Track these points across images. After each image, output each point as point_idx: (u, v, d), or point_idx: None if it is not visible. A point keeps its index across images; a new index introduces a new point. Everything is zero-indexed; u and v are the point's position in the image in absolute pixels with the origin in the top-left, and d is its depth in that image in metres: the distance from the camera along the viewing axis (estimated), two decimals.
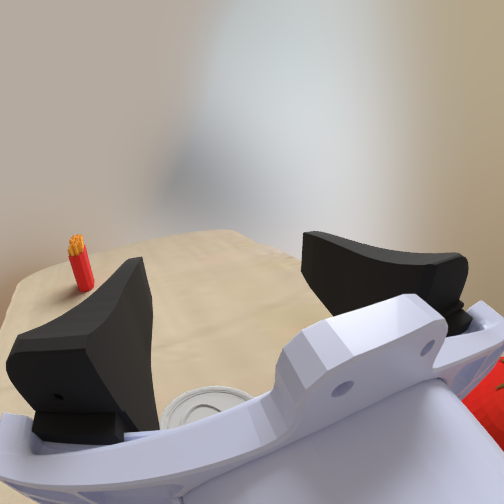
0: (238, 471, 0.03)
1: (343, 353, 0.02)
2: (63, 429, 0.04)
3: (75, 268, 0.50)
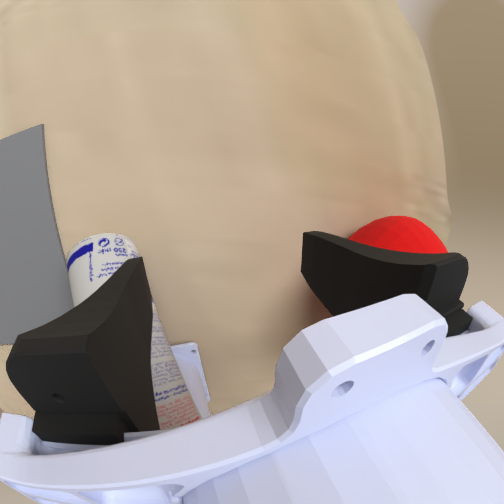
0: (238, 471, 0.03)
1: (343, 353, 0.02)
2: (63, 429, 0.04)
3: None
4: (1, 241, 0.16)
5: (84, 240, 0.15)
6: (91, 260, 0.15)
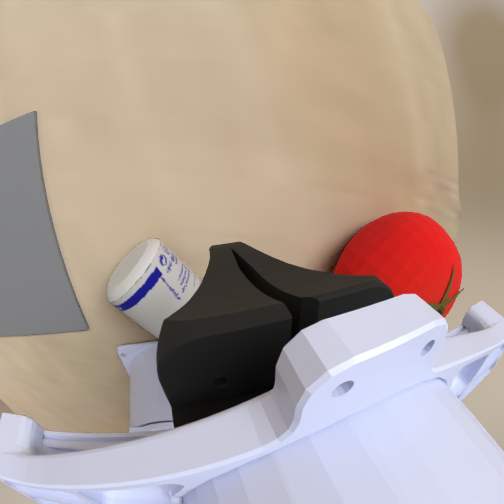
0: (238, 471, 0.03)
1: (343, 353, 0.02)
2: None
3: None
4: None
5: (147, 269, 0.16)
6: (168, 283, 0.17)
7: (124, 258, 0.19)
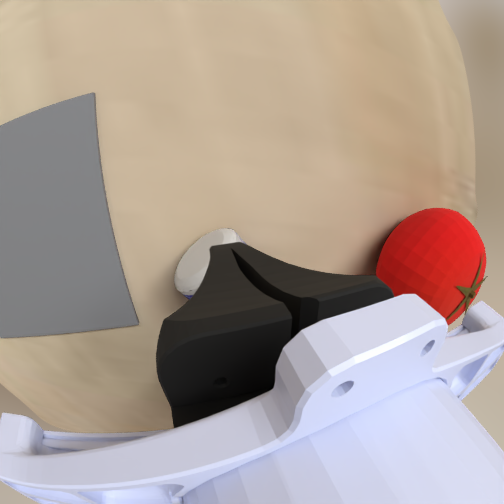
0: (238, 471, 0.03)
1: (343, 353, 0.02)
2: None
3: None
4: (37, 223, 0.16)
5: None
6: None
7: (190, 248, 0.20)
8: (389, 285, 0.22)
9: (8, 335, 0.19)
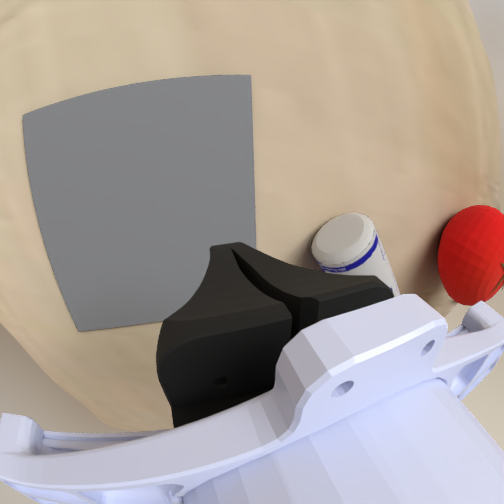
0: (238, 471, 0.03)
1: (343, 353, 0.02)
2: None
3: None
4: (169, 197, 0.19)
5: (374, 234, 0.19)
6: (380, 246, 0.20)
7: (324, 229, 0.23)
8: (454, 264, 0.25)
9: (91, 327, 0.21)
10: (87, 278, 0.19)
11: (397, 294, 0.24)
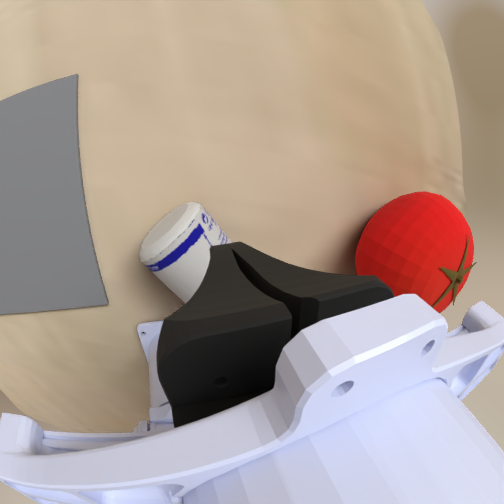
0: (238, 471, 0.03)
1: (343, 353, 0.02)
2: None
3: None
4: (17, 196, 0.15)
5: (190, 224, 0.16)
6: (209, 241, 0.17)
7: (158, 223, 0.19)
8: (367, 269, 0.21)
9: None
10: None
11: None
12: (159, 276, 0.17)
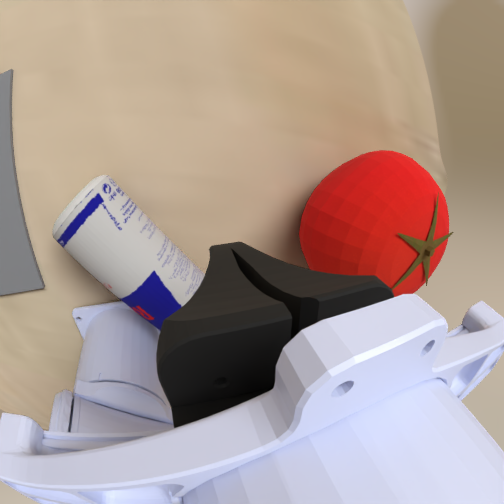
0: (238, 471, 0.03)
1: (343, 353, 0.02)
2: None
3: None
4: None
5: (88, 194, 0.14)
6: (109, 211, 0.14)
7: None
8: (308, 241, 0.19)
9: None
10: None
11: (180, 284, 0.18)
12: (68, 252, 0.15)
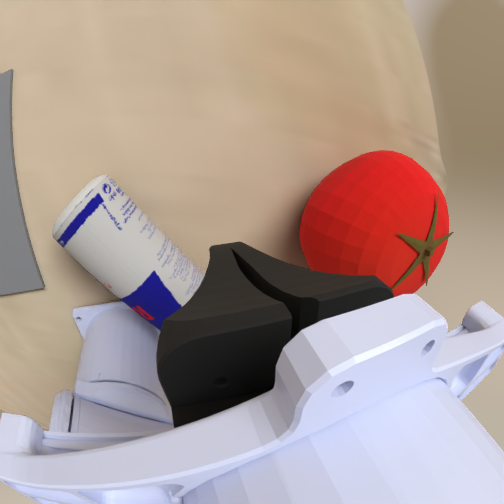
0: (238, 471, 0.03)
1: (343, 353, 0.02)
2: None
3: None
4: None
5: (88, 194, 0.14)
6: (109, 211, 0.14)
7: None
8: (308, 241, 0.19)
9: None
10: None
11: (180, 284, 0.18)
12: (68, 252, 0.15)
